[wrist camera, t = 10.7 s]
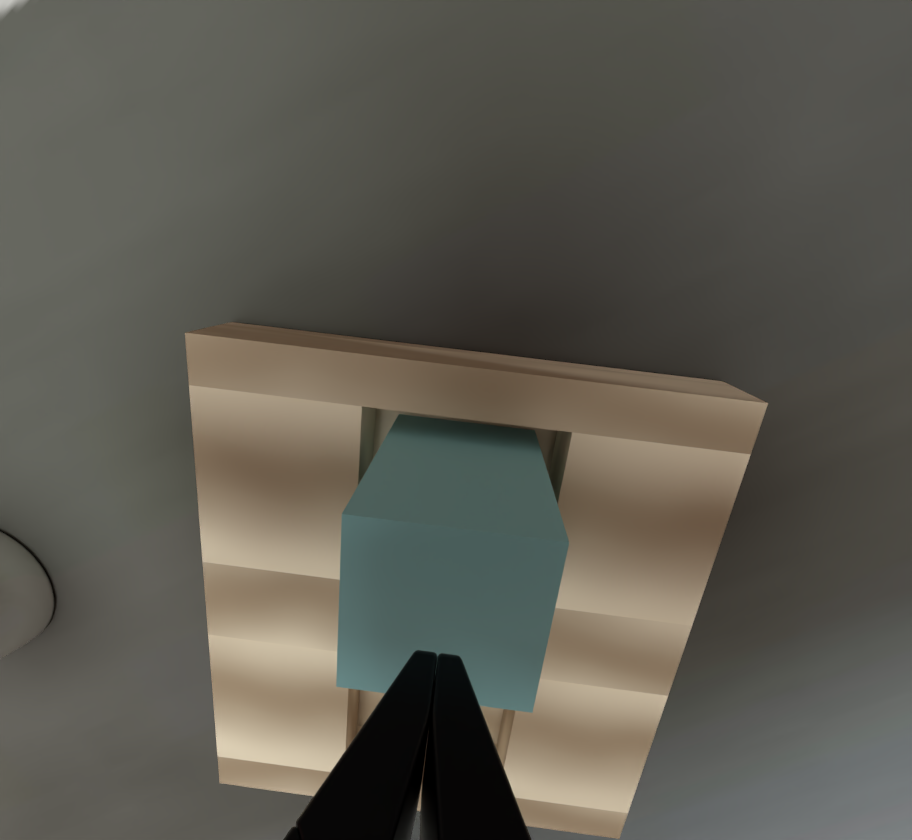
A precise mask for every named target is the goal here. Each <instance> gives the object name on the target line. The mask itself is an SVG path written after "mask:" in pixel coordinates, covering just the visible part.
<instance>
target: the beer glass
mask: <svg viewBox="0 0 912 840" xmlns="http://www.w3.org/2000/svg"><path fill="white" fill-rule="evenodd" d="M53 610H54V595H53V590H52V586H51V583H50V581H49V579H48V577H47V575H46V573H45V571H44V569H43V568H42V566H41V565H40V564H39V562H38V561H37V560H36V559H35V558H34V556H33V555H32V554H31V553H30V552H29V551H28V550H27V549H26V548H24V547H23V546H22V545H21V544H20V543H18V542H17V541H15V540H14V539H13V538H11V537H10V536H8V535H6V534H4V533H3V532H1V531H0V659H2V658H3V657H5V656H7V655H8V654H10V653H12V652H13V651H15V650H17V649H18V648H20V647H22V646H23V645H25V644H26V643H28V642H29V641H31V640H32V639H34V638H35V637H36V636H38V635H39V634H40V633H41V632H42V631H43V630H44V629H45V628H46V626H47V625H48V623H49V622H50V620H51V618H52V615H53Z"/></svg>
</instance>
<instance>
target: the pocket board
mask: <svg viewBox="0 0 912 840" xmlns="http://www.w3.org/2000/svg"><path fill="white" fill-rule="evenodd" d="M185 340H186V353H187V366H188V379H189V392H190V405H191V418H192V430H193V443H194V456H195V469H196V482H197V495H198V508H199V521H200V534H201V547H202V560H203V573H204V586H205V599H206V612H207V625H208V638H209V651H210V664H211V677H212V690H213V703H214V715H215V728H216V741H217V754H218V767H219V780H220V783H223V784H230V785H237V786H245V787H252V788H259V789H266V790H273V791H280V792H288V793H295V794H302V795H309V796H314V795H315V794H316V792H317V791H318V789H319V788H320V787H321V785H322V784H323V782H324V781H325V779H326V778H327V776H328V775H329V774H330V772H331V771H332V769H333V768H334V766H335V765H336V763H337V762H338V761H339V759H340V758H341V756H342V755H343V753H344V752H345V750H346V749H347V748H348V746H349V745H350V743H351V742H352V740H353V739H354V737H355V736H356V735H357V733H358V732H359V730H360V729H361V727H362V726H363V724H364V723H365V722H366V720H367V719H368V717H369V716H370V714H371V713H372V712H373V710H374V709H375V707H376V706H377V704H378V703H379V701H380V700H381V699H382V697H383V696H384V694H385V693H379V692H372V691H364V690H357V689H349V688H342V687H336V677H337V646H338V615H339V583H340V552H341V521H342V513H343V511H344V509H345V507H346V506H347V504H348V502H349V500H350V499H351V497H352V495H353V493H354V492H355V490H356V488H357V486H358V485H359V483H360V481H361V479H362V478H363V476H364V474H365V472H366V471H367V469H368V467H369V465H370V464H371V462H372V460H373V458H374V457H375V455H376V453H377V451H378V450H379V448H380V446H381V444H382V443H383V441H384V439H385V437H386V436H387V434H388V432H389V430H390V429H391V427H392V425H393V423H394V422H395V420H396V418H397V416H398V415H399V414H404V415H412V416H420V417H428V418H437V419H445V420H453V421H462V422H470V423H478V424H486V425H495V426H503V427H511V428H520V429H528V430H535V433H536V436H537V439H538V442H539V446H540V449H541V452H542V455H543V459H544V462H545V465H546V468H547V472H548V475H549V478H550V481H551V485H552V488H553V491H554V494H555V498H556V501H557V504H558V507H559V511H560V514H561V517H562V520H563V524H564V527H565V530H566V533H567V537H568V540H569V546H568V551H567V556H566V560H565V565H564V570H563V574H562V579H561V583H560V588H559V593H558V597H557V602H556V607H555V611H554V616H553V620H552V625H551V630H550V634H549V639H548V643H547V648H546V653H545V657H544V662H543V667H542V671H541V676H540V680H539V685H538V690H537V694H536V699H535V703H534V708H533V713H530V712H523V711H515V710H508V709H500V708H492V707H485V706H480V707H481V710H482V713H483V715H484V718H485V720H486V723H487V726H488V728H489V731H490V733H491V736H492V739H493V741H494V744H495V746H496V749H497V752H498V754H499V757H500V759H501V762H502V765H503V767H504V770H505V772H506V775H507V778H508V780H509V783H510V785H511V788H512V791H513V793H514V796H515V798H516V801H517V804H518V806H519V809H520V811H521V814H522V816H523V819H524V822H525V824H526V826H531V827H538V828H546V829H553V830H560V831H567V832H574V833H581V834H589V835H596V836H603V837H610V838H617V839H619V838H620V835H621V832H622V829H623V826H624V823H625V820H626V817H627V814H628V811H629V809H630V806H631V803H632V800H633V797H634V794H635V791H636V788H637V785H638V782H639V779H640V776H641V773H642V771H643V768H644V765H645V762H646V759H647V756H648V753H649V750H650V747H651V744H652V741H653V738H654V735H655V733H656V730H657V727H658V724H659V721H660V718H661V715H662V712H663V709H664V706H665V703H666V700H667V698H668V695H669V692H670V689H671V686H672V683H673V680H674V677H675V674H676V671H677V668H678V665H679V662H680V660H681V657H682V654H683V651H684V648H685V645H686V642H687V639H688V636H689V633H690V630H691V627H692V624H693V622H694V619H695V616H696V613H697V610H698V607H699V604H700V601H701V598H702V595H703V592H704V589H705V586H706V584H707V581H708V578H709V575H710V572H711V569H712V566H713V563H714V560H715V557H716V554H717V551H718V548H719V546H720V543H721V540H722V537H723V534H724V531H725V528H726V525H727V522H728V519H729V516H730V513H731V510H732V508H733V505H734V502H735V499H736V496H737V493H738V490H739V487H740V484H741V481H742V478H743V475H744V472H745V470H746V467H747V464H748V461H749V458H750V455H751V452H752V449H753V446H754V443H755V440H756V437H757V434H758V432H759V429H760V426H761V423H762V420H763V417H764V414H765V411H766V408H767V405H768V403H766V402H764V401H762V400H760V399H758V398H756V397H754V396H752V395H750V394H748V393H746V392H744V391H742V390H740V389H738V388H736V387H734V386H731V385H729V384H727V383H725V382H723V381H716V380H708V379H700V378H691V377H683V376H675V375H666V374H658V373H650V372H642V371H633V370H625V369H617V368H608V367H600V366H592V365H584V364H575V363H567V362H559V361H550V360H542V359H534V358H525V357H517V356H509V355H501V354H492V353H484V352H476V351H467V350H459V349H451V348H442V347H434V346H426V345H418V344H409V343H401V342H393V341H384V340H376V339H368V338H360V337H351V336H343V335H335V334H326V333H318V332H310V331H301V330H293V329H285V328H277V327H268V326H260V325H252V324H243V323H235V322H230V323H225V324H221V325H217V326H212V327H208V328H203V329H199V330H194V331H190V332H186V333H185ZM427 739H428V738H427ZM426 747H427V746H426ZM425 755H426V754H425ZM424 764H425V762H424ZM423 772H424V770H423ZM422 780H423V778H422ZM421 791H422V784H421ZM421 791H420V797H419V802H418V807H417V811H420V809H421Z"/></svg>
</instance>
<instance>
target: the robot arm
mask: <svg viewBox="0 0 912 840" xmlns="http://www.w3.org/2000/svg"><path fill="white" fill-rule="evenodd" d="M436 664H437V665H436ZM435 672H436V673H435ZM427 738H428V739H427ZM426 746H427V747H426ZM425 754H426V755H425ZM424 762H425V764H424ZM423 770H424V772H423ZM422 778H423V780H422ZM421 784H422V791H421ZM420 791H421V809H420V840H531V837H530V835H529V832H528V829H527V827H526V824H525V822H524V819H523V816H522V814H521V811H520V809H519V806H518V804H517V801H516V798H515V796H514V793H513V791H512V788H511V785H510V783H509V780H508V778H507V775H506V772H505V770H504V767H503V765H502V762H501V759H500V757H499V754H498V752H497V749H496V746H495V744H494V741H493V739H492V736H491V733H490V731H489V728H488V726H487V723H486V720H485V718H484V715H483V713H482V710H481V707H480V705H479V702H478V700H477V697H476V694H475V692H474V689H473V687H472V684H471V681H470V679H469V676H468V674H467V671H466V668H465V666H464V663H463V661H462V659H461V657H460V656H458V655H453V654H445V653H440V654H439V655H438V657H437V654H436V653H435V652H430V651H423V650H416V651H415V652H414V653H413V654H412V655H411V657H410V658H409V660H408V661H407V662H406V664H405V665H404V667H403V668H402V670H401V671H400V673H399V674H398V675H397V677H396V678H395V680H394V681H393V683H392V684H391V686H390V687H389V688H388V690H387V691H386V693H385V694H384V696H383V697H382V699H381V700H380V701H379V703H378V704H377V706H376V707H375V709H374V710H373V712H372V713H371V714H370V716H369V717H368V719H367V720H366V722H365V723H364V724H363V726H362V727H361V729H360V730H359V732H358V733H357V735H356V736H355V737H354V739H353V740H352V742H351V743H350V745H349V746H348V748H347V749H346V750H345V752H344V753H343V755H342V756H341V758H340V759H339V761H338V762H337V763H336V765H335V766H334V768H333V769H332V771H331V772H330V774H329V775H328V776H327V778H326V779H325V781H324V782H323V784H322V785H321V787H320V788H319V789H318V791H317V792H316V794H315V795H314V797H313V798H312V799H311V801H310V802H309V804H308V805H307V807H306V808H305V810H304V811H303V812H302V814H301V815H300V817H299V818H298V820H297V821H296V827H295V826H294V827H292V828H291V829H290V831H289V832H288V834H287V835H286V837H285V838H284V839H283V840H410V839H411V834H412V830H413V826H414V821H415V817H416V812H417V807H418V802H419V797H420Z"/></svg>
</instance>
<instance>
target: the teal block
mask: <svg viewBox="0 0 912 840" xmlns="http://www.w3.org/2000/svg"><path fill="white" fill-rule="evenodd" d="M568 546H569V540H568V537H567V533H566V530H565V527H564V524H563V520H562V517H561V514H560V511H559V507H558V504H557V501H556V498H555V494H554V491H553V488H552V485H551V481H550V478H549V475H548V472H547V468H546V465H545V462H544V459H543V455H542V452H541V449H540V446H539V442H538V439H537V436H536V433H535V430H528V429H520V428H511V427H503V426H495V425H486V424H478V423H470V422H462V421H453V420H445V419H437V418H428V417H420V416H412V415H404V414H399V415H398V416H397V418H396V420H395V422H394V423H393V425H392V427H391V429H390V430H389V432H388V434H387V436H386V437H385V439H384V441H383V443H382V444H381V446H380V448H379V450H378V451H377V453H376V455H375V457H374V458H373V460H372V462H371V464H370V465H369V467H368V469H367V471H366V472H365V474H364V476H363V478H362V479H361V481H360V483H359V485H358V486H357V488H356V490H355V492H354V493H353V495H352V497H351V499H350V500H349V502H348V504H347V506H346V507H345V509H344V511H343V513H342V521H341V552H340V583H339V615H338V646H337V677H336V687H342V688H349V689H357V690H364V691H372V692H379V693H386V691H387V690H388V688H389V687H390V686H391V684H392V683H393V681H394V680H395V678H396V677H397V675H398V674H399V673H400V671H401V670H402V668H403V667H404V665H405V664H406V662H407V661H408V660H409V658H410V657H411V655H412V654H413V653H414V652H415V651H416V650H423V651H430V652H435V653H436V654H437V657H438V655H439V654H440V653H445V654H453V655H458V656H460V657H461V659H462V661H463V663H464V666H465V668H466V671H467V674H468V676H469V679H470V681H471V684H472V687H473V689H474V692H475V694H476V697H477V700H478V702H479V705H480V706H485V707H492V708H500V709H508V710H515V711H523V712H530V713H533V708H534V703H535V699H536V694H537V690H538V685H539V680H540V676H541V671H542V667H543V662H544V657H545V653H546V648H547V643H548V639H549V634H550V630H551V625H552V620H553V616H554V611H555V607H556V602H557V597H558V593H559V588H560V583H561V579H562V574H563V570H564V565H565V560H566V556H567V551H568ZM436 665H437V664H436ZM435 673H436V672H435Z"/></svg>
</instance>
